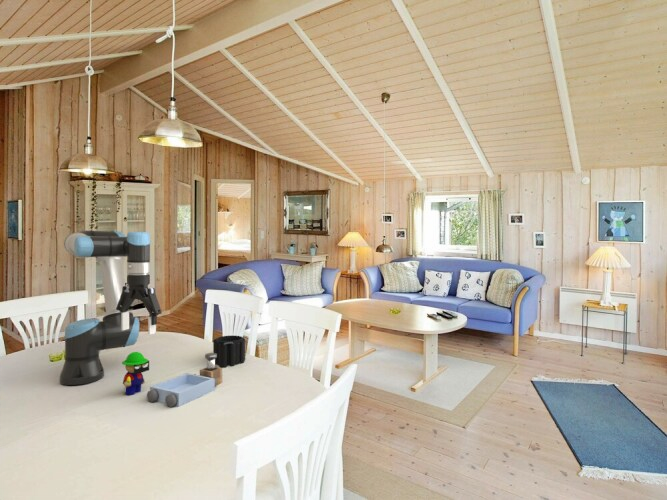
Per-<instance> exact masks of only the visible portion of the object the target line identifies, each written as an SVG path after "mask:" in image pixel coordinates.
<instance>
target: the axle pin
mask: <svg viewBox="0 0 667 500" xmlns="http://www.w3.org/2000/svg"><path fill="white" fill-rule="evenodd" d="M204 358H205V360H206V367H207V370H208V371H213V370H215V367H216V364H215V358H217V354H216V353H213V352H209V353H206V354H205V355H204Z"/></svg>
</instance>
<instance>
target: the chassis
mask: <svg viewBox="0 0 667 500" xmlns="http://www.w3.org/2000/svg"><path fill="white" fill-rule="evenodd" d="M216 385H217V382H216V380H215V379H214V378H209V377H204V376H200V374H199V375H197V374H196V373H194V374H193V373H184V374H180V375H178V376H176V377H172V378H170V379H167V380H165V381H161V382H159V383H156V384H153V385H151V386H149V390H148V391H147V394H146V398H147V400H148V401H149V402H150V403H154V402H160V403H163V404H166V406H167V407H168V408H172V407H178V408H179V407H181V406H184V405H185V404H188V403H190V402H192V401H195V400H197V399H199V398H202V397H204V396H206V395H208V394H210V393H212V392H214V391H215V389H216V387H217V386H218V385H217V386H216Z"/></svg>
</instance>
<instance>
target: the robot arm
mask: <svg viewBox="0 0 667 500" xmlns="http://www.w3.org/2000/svg"><path fill="white" fill-rule="evenodd" d="M150 236H151V234H150V233H149V232H147V231H128V233H127V236H126V234H125V233H123V232H122V231H115V230H80V231H76V232H75V231H74V232H72V233H70V234H69V235H67V236H66V237H65V239H64V243H63V245H64V249H65V250H66V251H67V252H68V253H69V254H70V255H73V256H76V257H77V258H95V261H96V262H97V264H99V265H100V272H101V279H102V289H103V291H102V292H103V296H104V307H105V315H104V316H103V317H102V321H100V319H99V318H97V317H93V318H85V319H83V318H82V319H79V320H76V321H73V322H71V323H68V324H67V325H65V326H66V327H65V329H64V340H65V342H64V364H63V367H62V370H61V372H60V375H59V383H60V384H62V385H68V386H74V385H75V386H76V385H84V384H88V383H93V382H96V381H99V380H102V379H103V378H104V377H105V369H104V367H103V364H102V361H101V359H100V351H104V350H111V349H118V348H125V347H130V346H134V345H135V344H136V343H137V342H138V339H139V336H140V335H139V333H140V319H139V318H138V317H134V313H133V312H132V311H130V310H129V309H130V307H131V306H132V304H133V303H134V302H135V300H138V301H140V302H141V303H143V305H144V307H145V309H146V310H147V311H148V314H149V315H148V318H147V319H148V320H147V323H148V325H147V327H148V328H147V330H148V331H147V333H148V334H147V335H153V334H156V333H157V324H158V316H159V315H162V313H163V311H162V309H161V306H160V303H159V301H158V297H157V295H156V288H155V287H149V285H150V284H151V282H150V281H151V276H150V274H149V273H151V261H150V260H151V237H150ZM126 257H127V258H126ZM125 259H127V261H126V264H127V265H126V266H127V269H126V270H127V271H126V272H127V275H126V283H125V274H124V267H123V262H124V260H125ZM126 284H127V285H126Z"/></svg>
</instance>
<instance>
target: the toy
mask: <svg viewBox="0 0 667 500" xmlns="http://www.w3.org/2000/svg"><path fill="white" fill-rule="evenodd" d="M121 363H122V365H124V366H125V370H126V371H127V372H126V373H125V375H124V377H123V380H122V384H123V387H125V392H124V394H125V395H127V396H133V395H135V394H136V393H137V394H138V393H140V392H141V391H142V385H143V384H145V383H146V382H145V378H144V375H143V373H145V372H148V371H150V360H149V359H148V358H146V357H144V355H143V354H142V353H141V352H139V351H133V352H130V353H129V354H127V356H126V359H125V360H124V361H122V362H121Z"/></svg>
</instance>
